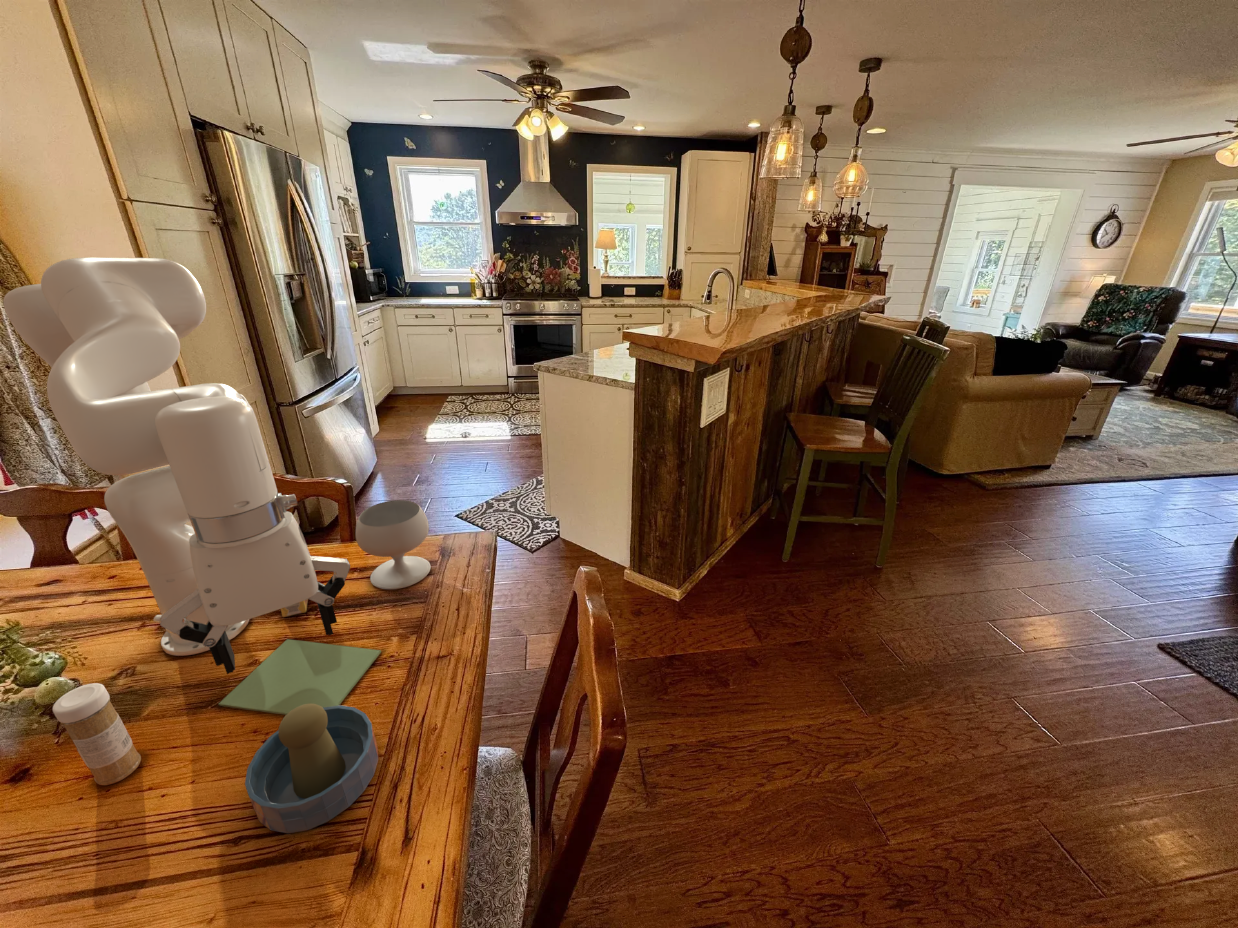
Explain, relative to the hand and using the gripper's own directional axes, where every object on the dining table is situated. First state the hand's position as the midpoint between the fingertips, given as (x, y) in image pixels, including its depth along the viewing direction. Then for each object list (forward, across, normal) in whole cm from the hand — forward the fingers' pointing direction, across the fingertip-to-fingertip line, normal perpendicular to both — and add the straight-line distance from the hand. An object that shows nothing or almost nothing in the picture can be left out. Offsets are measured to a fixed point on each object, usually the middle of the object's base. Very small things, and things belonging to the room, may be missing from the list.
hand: (282, 646), depth 58 cm
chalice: (+21, -21, -40) cm, 50 cm away
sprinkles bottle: (+21, +22, -16) cm, 35 cm away
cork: (+21, 0, +1) cm, 21 cm away
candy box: (+21, -2, -43) cm, 48 cm away
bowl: (+22, 0, +1) cm, 22 cm away
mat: (+21, 0, -20) cm, 29 cm away
